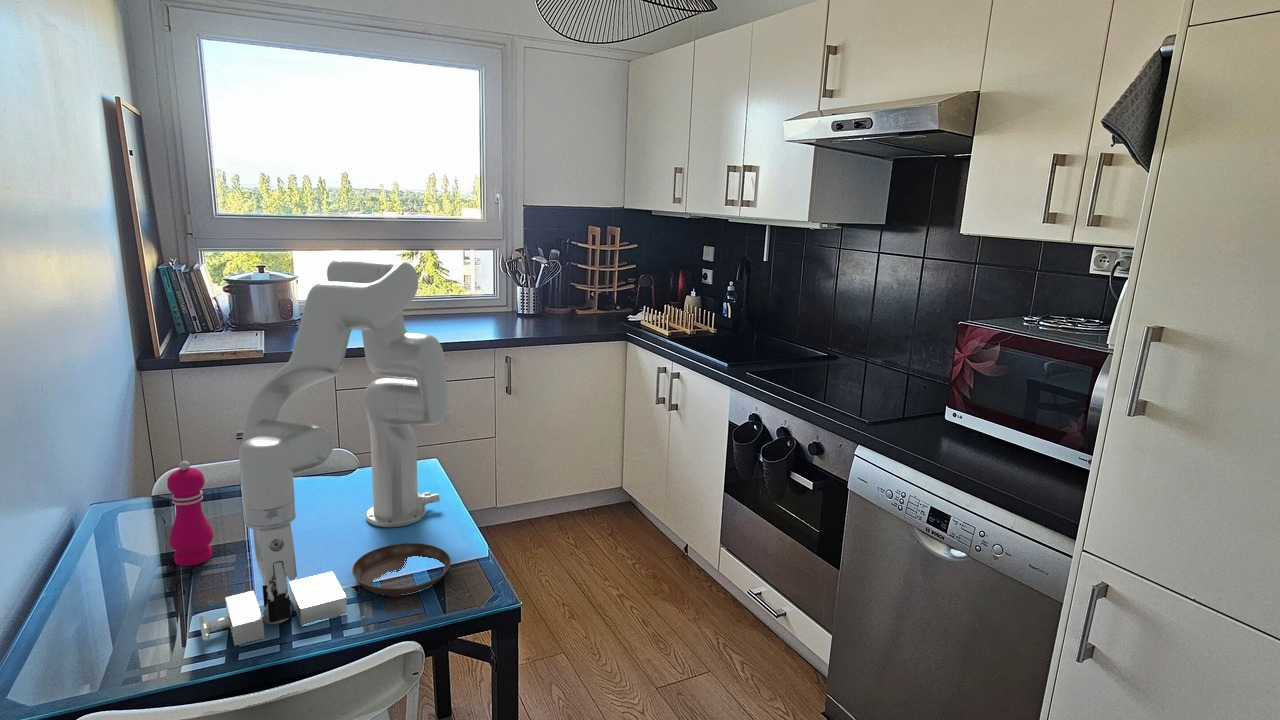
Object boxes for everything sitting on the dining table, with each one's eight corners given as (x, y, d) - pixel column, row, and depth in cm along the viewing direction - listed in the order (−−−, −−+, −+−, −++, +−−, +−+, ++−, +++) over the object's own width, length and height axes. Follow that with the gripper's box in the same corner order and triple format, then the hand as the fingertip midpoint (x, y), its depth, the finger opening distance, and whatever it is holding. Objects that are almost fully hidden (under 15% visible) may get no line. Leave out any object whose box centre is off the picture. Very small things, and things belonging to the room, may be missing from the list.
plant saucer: (447, 551, 149) (447, 537, 148) (454, 596, 133) (454, 580, 132) (355, 561, 144) (354, 547, 143) (350, 609, 127) (349, 593, 127)
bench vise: (333, 588, 133) (332, 571, 132) (347, 615, 125) (346, 596, 124) (198, 623, 121) (196, 604, 120) (204, 654, 113) (202, 634, 112)
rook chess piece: (269, 611, 125) (266, 568, 123) (296, 610, 126) (293, 568, 124) (258, 626, 121) (254, 582, 119) (286, 625, 121) (283, 582, 120)
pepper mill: (195, 570, 137) (185, 470, 133) (162, 564, 139) (151, 465, 134) (223, 552, 144) (215, 456, 140) (192, 547, 146) (182, 452, 141)
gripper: (305, 526, 114) (311, 630, 118) (285, 489, 128) (291, 583, 132) (251, 537, 110) (260, 644, 114) (237, 497, 124) (245, 595, 128)
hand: (277, 611), depth 123 cm, fingers closed on rook chess piece, 4 cm apart
